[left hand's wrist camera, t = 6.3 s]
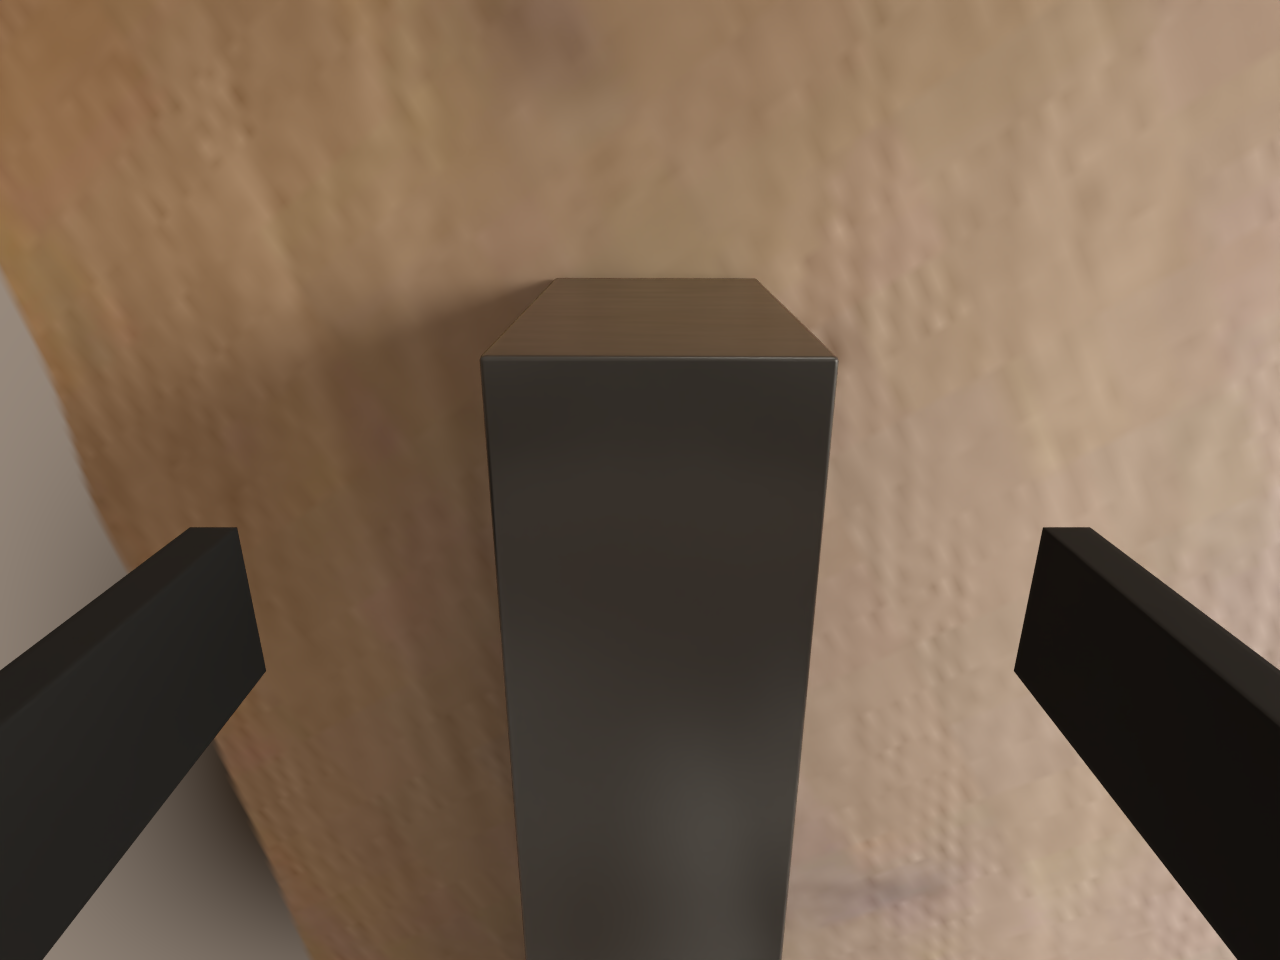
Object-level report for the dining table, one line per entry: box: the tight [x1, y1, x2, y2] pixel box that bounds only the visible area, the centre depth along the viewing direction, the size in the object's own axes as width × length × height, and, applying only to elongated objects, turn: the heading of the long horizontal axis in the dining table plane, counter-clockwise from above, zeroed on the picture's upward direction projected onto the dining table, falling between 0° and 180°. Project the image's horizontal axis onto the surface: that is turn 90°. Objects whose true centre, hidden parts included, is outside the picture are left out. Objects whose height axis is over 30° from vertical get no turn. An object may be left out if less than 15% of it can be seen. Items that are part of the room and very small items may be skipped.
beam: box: [480, 278, 839, 960], centre depth 21 cm, size 34×5×9 cm, turn 0°
